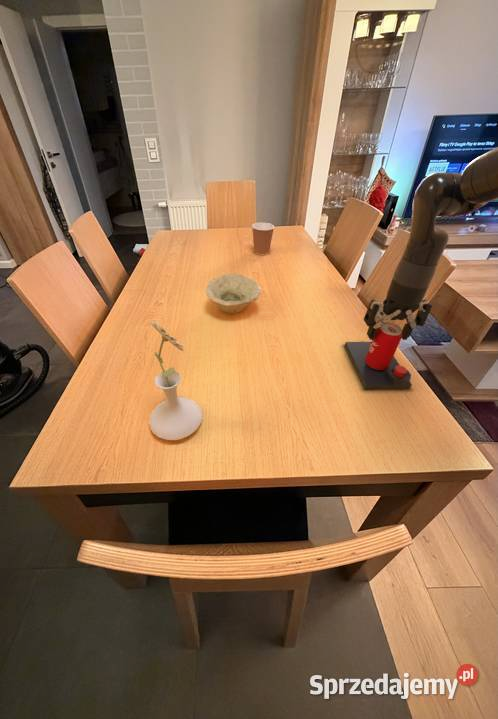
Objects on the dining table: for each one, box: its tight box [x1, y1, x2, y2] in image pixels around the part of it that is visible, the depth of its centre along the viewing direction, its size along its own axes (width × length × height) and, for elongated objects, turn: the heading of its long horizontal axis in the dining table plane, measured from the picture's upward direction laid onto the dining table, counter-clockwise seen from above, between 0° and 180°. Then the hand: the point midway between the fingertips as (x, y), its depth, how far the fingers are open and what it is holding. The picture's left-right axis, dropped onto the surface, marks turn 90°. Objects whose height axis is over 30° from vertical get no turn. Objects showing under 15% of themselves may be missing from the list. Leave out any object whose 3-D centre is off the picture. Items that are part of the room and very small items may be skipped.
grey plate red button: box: [343, 341, 413, 391], centre depth 83 cm, size 18×12×4 cm, turn 3°
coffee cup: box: [251, 222, 275, 256], centre depth 140 cm, size 10×10×12 cm
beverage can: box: [365, 322, 403, 370], centre depth 78 cm, size 6×6×12 cm
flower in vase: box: [148, 319, 203, 441], centre depth 60 cm, size 13×11×25 cm
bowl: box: [205, 273, 261, 314], centre depth 100 cm, size 14×18×15 cm
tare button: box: [393, 365, 408, 378], centre depth 77 cm, size 3×3×2 cm
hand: (386, 338), depth 76 cm, fingers open, 8 cm apart
